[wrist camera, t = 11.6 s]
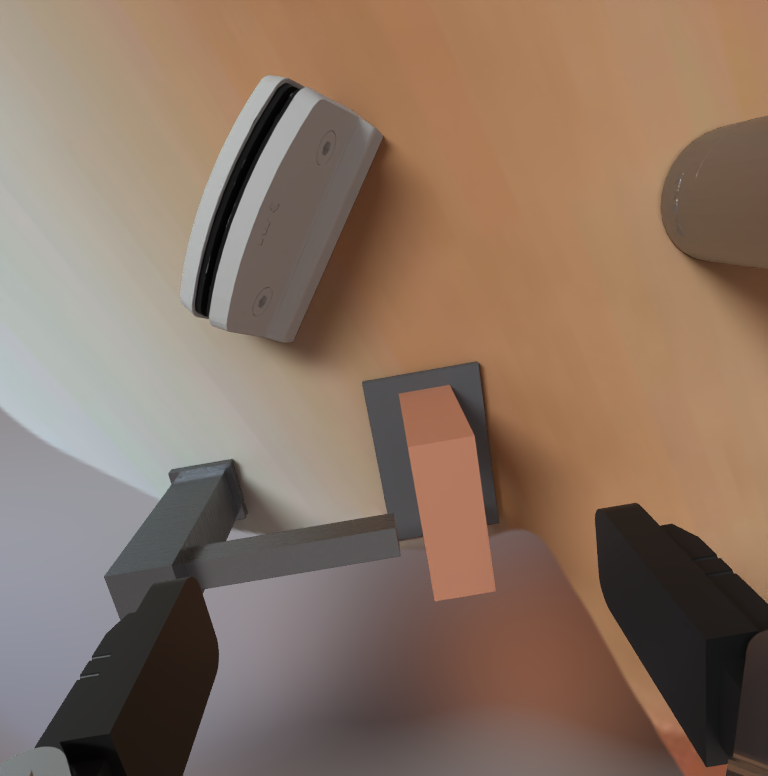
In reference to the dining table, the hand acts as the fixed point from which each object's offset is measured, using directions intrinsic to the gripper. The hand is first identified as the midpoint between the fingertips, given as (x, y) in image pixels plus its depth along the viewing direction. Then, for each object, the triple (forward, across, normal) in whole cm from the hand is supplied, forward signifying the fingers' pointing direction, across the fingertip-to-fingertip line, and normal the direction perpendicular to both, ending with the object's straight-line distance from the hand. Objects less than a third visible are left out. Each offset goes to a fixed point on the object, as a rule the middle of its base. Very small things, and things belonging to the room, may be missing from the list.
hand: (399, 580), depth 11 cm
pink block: (+32, -3, +12) cm, 34 cm away
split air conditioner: (+32, +5, -8) cm, 34 cm away
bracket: (+32, +10, +12) cm, 36 cm away
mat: (+32, -2, +12) cm, 34 cm away
